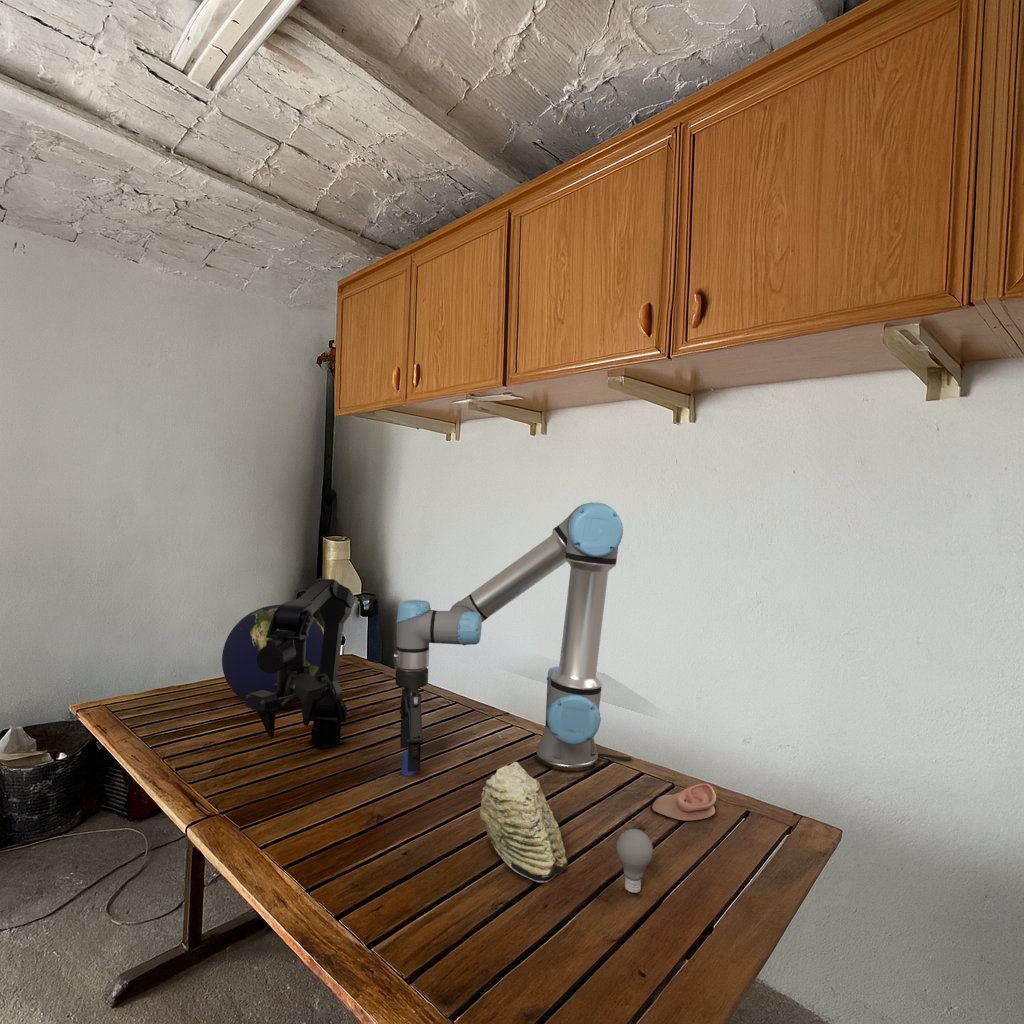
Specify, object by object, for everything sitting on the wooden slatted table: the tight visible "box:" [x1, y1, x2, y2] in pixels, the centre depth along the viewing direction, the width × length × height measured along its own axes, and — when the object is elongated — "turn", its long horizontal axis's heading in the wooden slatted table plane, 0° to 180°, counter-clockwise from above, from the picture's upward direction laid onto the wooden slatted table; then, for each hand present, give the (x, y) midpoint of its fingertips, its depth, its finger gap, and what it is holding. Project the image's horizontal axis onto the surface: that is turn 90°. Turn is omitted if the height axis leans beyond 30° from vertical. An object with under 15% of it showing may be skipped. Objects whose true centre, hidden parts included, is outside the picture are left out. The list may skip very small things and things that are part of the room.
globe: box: [221, 604, 324, 709], centre depth 188 cm, size 30×30×30 cm
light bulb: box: [615, 828, 654, 894], centre depth 106 cm, size 6×6×10 cm
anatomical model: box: [651, 783, 717, 822], centre depth 135 cm, size 13×4×12 cm
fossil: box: [479, 761, 569, 883], centre depth 114 cm, size 9×18×15 cm, turn 46°
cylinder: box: [400, 750, 417, 777], centre depth 147 cm, size 4×4×4 cm
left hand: (289, 731), depth 140 cm, fingers open, 9 cm apart
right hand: (409, 758), depth 147 cm, fingers open, 13 cm apart
